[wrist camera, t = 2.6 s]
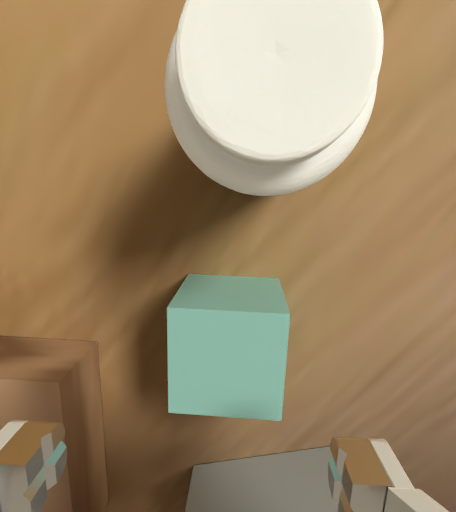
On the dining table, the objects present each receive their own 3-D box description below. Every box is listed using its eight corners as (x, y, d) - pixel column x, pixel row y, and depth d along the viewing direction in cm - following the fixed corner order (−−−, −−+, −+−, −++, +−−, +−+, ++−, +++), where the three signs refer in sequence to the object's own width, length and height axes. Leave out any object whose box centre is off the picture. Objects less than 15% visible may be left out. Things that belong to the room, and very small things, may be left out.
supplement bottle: (215, 199, 17) (166, 225, 7) (192, 85, 16) (94, -83, 6) (322, 178, 16) (440, 174, 6) (307, 58, 15) (423, -181, 5)
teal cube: (278, 277, 18) (290, 314, 13) (272, 359, 19) (281, 420, 14) (189, 273, 18) (166, 307, 13) (188, 353, 19) (168, 412, 14)
